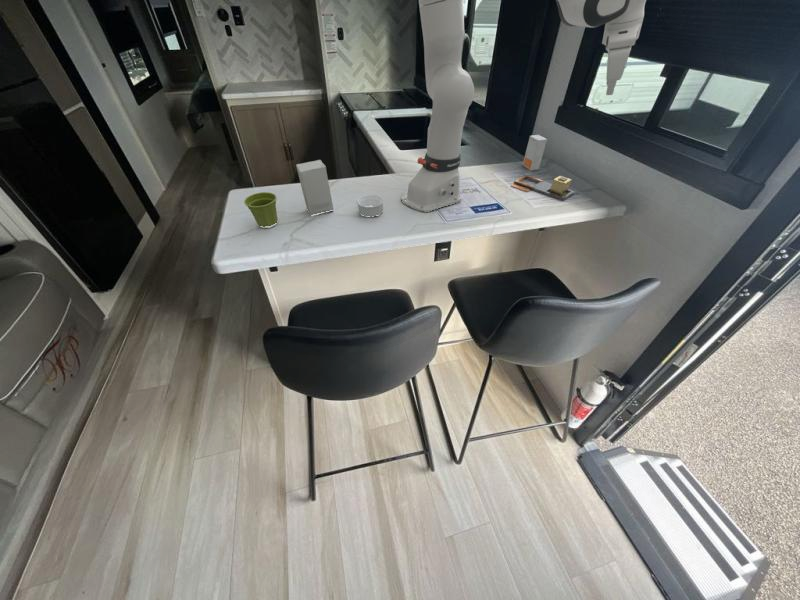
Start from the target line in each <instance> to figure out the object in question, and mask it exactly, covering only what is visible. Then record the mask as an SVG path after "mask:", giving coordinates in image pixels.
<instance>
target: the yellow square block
mask: <svg viewBox="0 0 800 600" xmlns="http://www.w3.org/2000/svg"><path fill="white" fill-rule="evenodd" d="M572 180H573V179H571V178H569V177H566V176H563V175H559V176H557V177H555V178H554V179H553V181H552V183H551V184H552V186H551V189H550V191H549V192H550V193H552V194H555V195H558V196H561V197H564V196H565V195H567V194H568V193H567V191H568V189H569V188H570V185H571V183H572ZM569 190H570V189H569Z"/></svg>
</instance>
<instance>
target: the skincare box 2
mask: <svg viewBox="0 0 800 600" xmlns="http://www.w3.org/2000/svg"><path fill="white" fill-rule="evenodd" d="M547 141H548V139H547V138H545V137H544V136H541V135H540V134H534V135H529V139H528V143H527V147H526V150H525V154H524V158H523V162H522V166H524V167H525V168H526V169H527V170H529V171H535V170H539V169H540V166H541V163H542V159H543V156H544V151H545V150H546V149H545V148H546V144H547Z"/></svg>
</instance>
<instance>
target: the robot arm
mask: <svg viewBox="0 0 800 600" xmlns="http://www.w3.org/2000/svg"><path fill="white" fill-rule="evenodd" d="M555 2H556V6H557V10H558V11H557V12H558V15H559V18H560V20H561V22H562V23H563V24H564V25H565V26H567V27H581V28H582V27H583V28H591V29H592V28H597V27H601V26H602V25H604V31H603V37H602V41H601V44H602V45H604V46H605V51H607V61H606V77H605V80H606V86H607V87H606V91H605V92H606V93H605V95H606V96H612V95H613V94H614V91H615V88H616V85H617V83H618V82H617V81H620V80H621V79H622V77H623V75H624V71H625V69H626V66H627V63H628V60H629V56H630V53H631V51H632V46H635V45H636V41H637V40H638V39H639V37H640V33H641V29H642V25H643V22H644V18H645V5H646V2H647V0H555ZM418 6H419V7H418V8H419V14H420V15H419V16H420V23H421V30H422V37H423V39H422V40H423V49H424V50H423V52H424V55H423V56H424V57H423V58H424V74H425V86H426V91H427V94H428V96H429V98H431V100H432V108H431V109H432V110H431V111H432V112H431V115H430V116H431V117H430V120H429V121H430V122H429V124H428V125H429V126H428V128H427V139H426V141H427V143H426V153H425V155H424V157H423V158H422V157H417V158H418V159H417V164H419V165H421V168H420V169H419V170H418V171H417V173H416V174H415V175H414V177H413V178H412V179H411V180H410V181H409V182H408V186H407V192H406V193H404V194H403V195H401V197H400V201H401V200H402V201H403V202H404V203H405V204H406V205H405V204H404V203H403V202H402V201H401V202H402V203H403V204H404V205H405V206H407V205H408V206H410V207H412V208H414V209H413V210H415V209H417V210H416V211H418V210H420V211H419V212H421V211H424V212H423V213H431V212H433V211H432V210H434V211H436V210H435V209H437V210H439V209H438V208H440V209H442V208H441V207H444V206H447V207H449V206H448V205H450V206H451V205H452V204H453V205H455V203H456V204H458V202H459V203H461V201H462V200H461V199H462V197H461V196H460V194H461V193H460V189H461V188H460V184H461V183H460V173H459V167H460V166H461V153H460V152H461V146H462V145H461V144H462V138H463V137H462V136H463V130H464V125H465V123H466V122H465V121H466V118H467V115H468V111H469V107H470V106H471V105H472V103H473V101H474V98H475V93H476V92H475V85H474V82H473V80H472V79H473V78H472V77H471V75H470V73H469V72H467V70H465V69H463V67H462V66H463V65H462V51H463V41H464V37H465V21H464V20H465V19H464V1H463V0H418ZM405 200H406V201H405ZM408 206H407V207H408ZM410 207H409V208H410ZM412 208H411V209H412ZM444 208H445V207H444ZM430 211H431V212H430Z"/></svg>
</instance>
